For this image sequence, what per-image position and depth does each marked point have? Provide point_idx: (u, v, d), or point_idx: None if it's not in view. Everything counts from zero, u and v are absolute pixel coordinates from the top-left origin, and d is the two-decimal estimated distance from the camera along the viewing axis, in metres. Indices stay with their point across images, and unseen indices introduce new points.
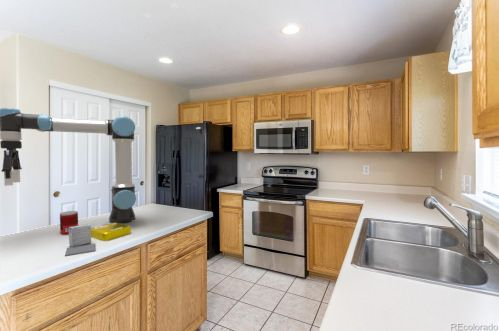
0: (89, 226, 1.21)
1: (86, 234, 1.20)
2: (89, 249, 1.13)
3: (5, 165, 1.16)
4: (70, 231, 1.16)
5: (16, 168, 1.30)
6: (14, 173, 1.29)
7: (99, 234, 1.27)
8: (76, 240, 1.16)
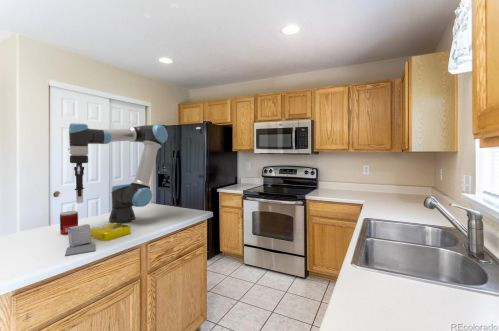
0: (88, 226, 1.21)
1: (86, 234, 1.20)
2: (89, 249, 1.13)
3: (78, 185, 1.21)
4: (69, 231, 1.16)
5: None
6: None
7: (99, 234, 1.26)
8: (76, 240, 1.16)
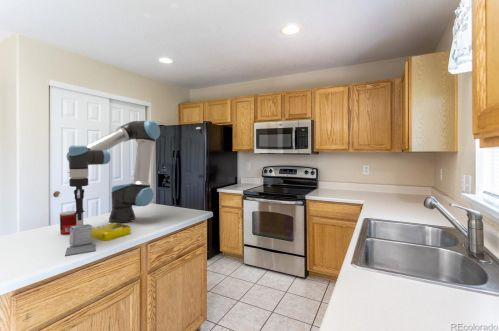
0: (91, 227, 1.21)
1: (87, 235, 1.20)
2: (89, 249, 1.13)
3: (78, 209, 1.18)
4: (71, 231, 1.16)
5: None
6: None
7: (99, 234, 1.26)
8: (77, 240, 1.16)
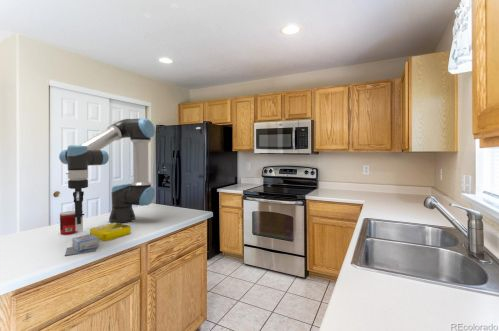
0: (96, 246, 1.16)
1: None
2: (89, 249, 1.13)
3: (77, 212, 1.12)
4: (77, 247, 1.10)
5: None
6: None
7: (99, 234, 1.26)
8: None
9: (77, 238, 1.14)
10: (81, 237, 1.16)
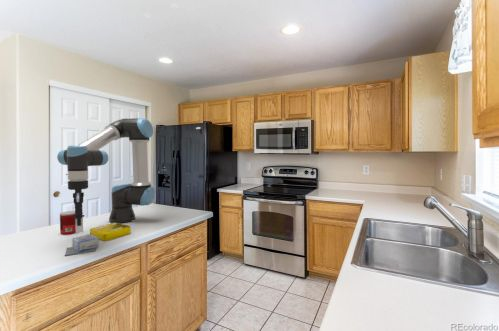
0: (96, 246, 1.16)
1: None
2: (89, 249, 1.13)
3: (77, 214, 1.10)
4: (77, 247, 1.10)
5: None
6: None
7: (99, 234, 1.26)
8: None
9: (77, 238, 1.14)
10: (81, 237, 1.16)
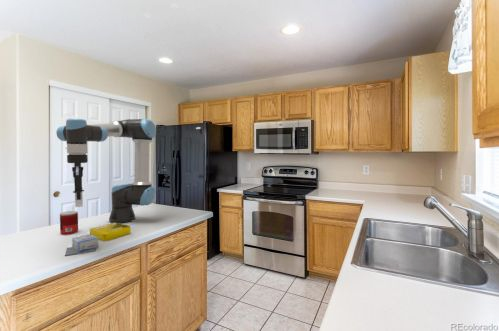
0: (96, 246, 1.16)
1: None
2: (89, 249, 1.13)
3: (77, 187, 1.09)
4: (77, 247, 1.10)
5: None
6: None
7: (99, 234, 1.26)
8: None
9: (77, 238, 1.14)
10: (81, 237, 1.16)
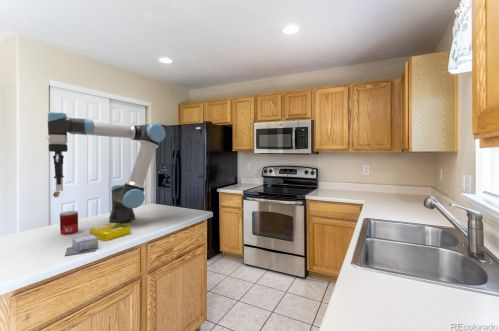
0: (96, 246, 1.16)
1: None
2: (89, 249, 1.13)
3: (57, 173, 1.23)
4: (77, 247, 1.10)
5: None
6: None
7: (99, 234, 1.26)
8: None
9: (77, 238, 1.14)
10: (81, 237, 1.16)
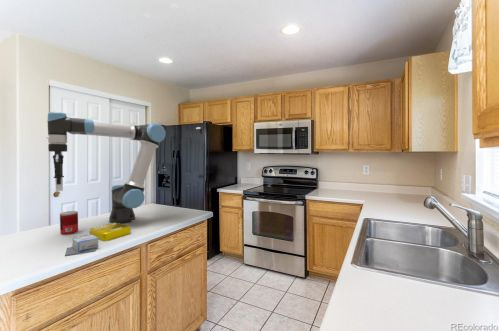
0: (96, 246, 1.16)
1: None
2: (89, 249, 1.13)
3: (57, 173, 1.23)
4: (77, 247, 1.10)
5: None
6: None
7: (99, 234, 1.26)
8: None
9: (77, 238, 1.14)
10: (81, 237, 1.16)
